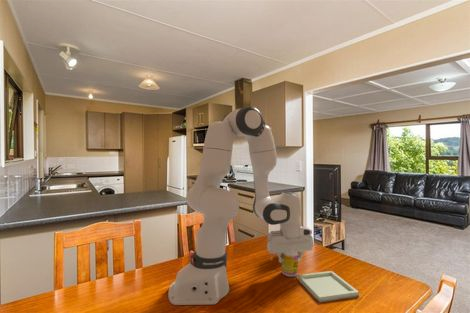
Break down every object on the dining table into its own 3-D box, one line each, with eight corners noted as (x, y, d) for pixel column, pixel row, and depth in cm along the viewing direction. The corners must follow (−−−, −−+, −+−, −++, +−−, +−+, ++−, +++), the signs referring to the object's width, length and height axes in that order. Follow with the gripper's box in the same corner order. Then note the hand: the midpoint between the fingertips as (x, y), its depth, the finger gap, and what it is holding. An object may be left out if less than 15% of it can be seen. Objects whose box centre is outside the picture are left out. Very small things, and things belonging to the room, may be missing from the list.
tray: (319, 302, 86) (319, 297, 86) (297, 279, 101) (297, 274, 101) (358, 296, 89) (358, 291, 89) (331, 275, 105) (331, 270, 105)
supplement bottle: (294, 279, 101) (295, 248, 101) (279, 274, 105) (280, 244, 104) (299, 272, 107) (300, 243, 107) (285, 268, 110) (285, 240, 110)
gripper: (270, 233, 100) (270, 267, 100) (315, 230, 105) (314, 262, 105) (265, 229, 106) (264, 260, 106) (307, 226, 111) (307, 256, 111)
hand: (289, 261), depth 106 cm, fingers closed on supplement bottle, 7 cm apart
